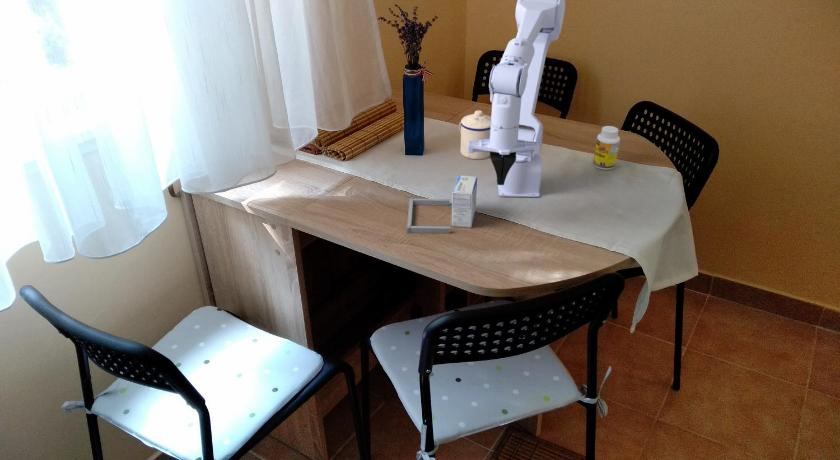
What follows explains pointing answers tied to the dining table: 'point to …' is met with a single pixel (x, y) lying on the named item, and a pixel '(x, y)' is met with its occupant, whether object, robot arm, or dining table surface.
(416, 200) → the grey bay
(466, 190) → the medicine box
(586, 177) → the dining table surface
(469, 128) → the teacup with lid
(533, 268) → the dining table surface
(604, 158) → the supplement bottle
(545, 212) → the dining table surface
